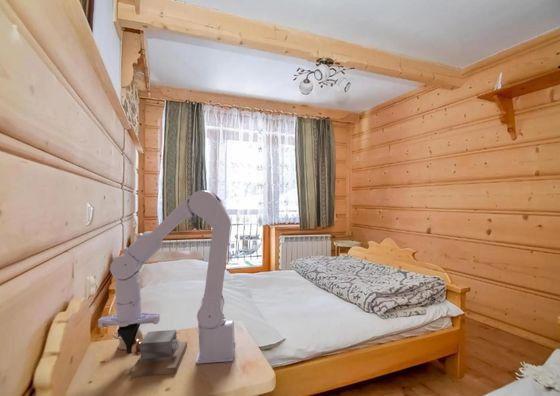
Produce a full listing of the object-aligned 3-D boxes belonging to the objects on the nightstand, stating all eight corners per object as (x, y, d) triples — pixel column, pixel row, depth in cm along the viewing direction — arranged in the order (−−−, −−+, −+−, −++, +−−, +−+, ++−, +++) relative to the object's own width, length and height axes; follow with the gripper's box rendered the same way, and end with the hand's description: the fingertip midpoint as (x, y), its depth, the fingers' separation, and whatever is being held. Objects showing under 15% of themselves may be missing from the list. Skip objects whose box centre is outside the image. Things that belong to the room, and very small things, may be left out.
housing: (187, 346, 85) (186, 324, 84) (176, 373, 73) (174, 347, 72) (149, 349, 84) (147, 326, 84) (131, 376, 72) (129, 350, 72)
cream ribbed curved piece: (146, 344, 87) (145, 326, 86) (113, 355, 82) (112, 335, 81) (143, 338, 90) (142, 321, 90) (111, 348, 85) (110, 330, 85)
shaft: (180, 347, 81) (179, 333, 80) (176, 356, 77) (175, 340, 76) (138, 350, 80) (137, 336, 79) (131, 359, 76) (131, 344, 75)
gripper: (90, 308, 72) (93, 362, 73) (152, 304, 73) (154, 358, 74) (105, 297, 79) (107, 346, 80) (161, 294, 80) (163, 343, 81)
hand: (131, 351), depth 78 cm, fingers closed
